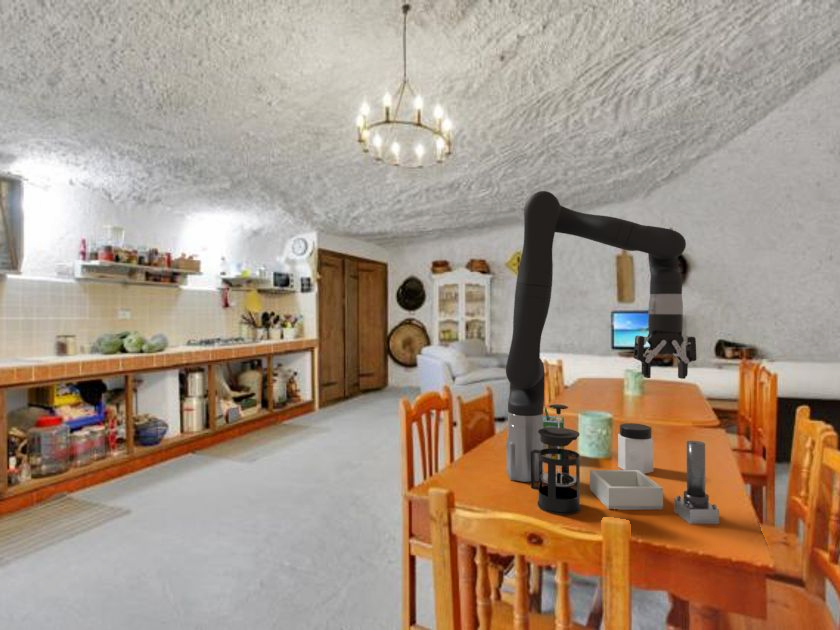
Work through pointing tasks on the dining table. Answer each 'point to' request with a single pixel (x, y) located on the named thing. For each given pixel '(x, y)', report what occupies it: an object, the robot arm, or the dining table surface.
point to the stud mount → (696, 512)
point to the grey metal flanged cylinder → (696, 475)
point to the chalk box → (552, 423)
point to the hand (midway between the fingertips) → (664, 378)
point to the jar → (635, 448)
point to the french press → (558, 489)
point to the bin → (626, 490)
